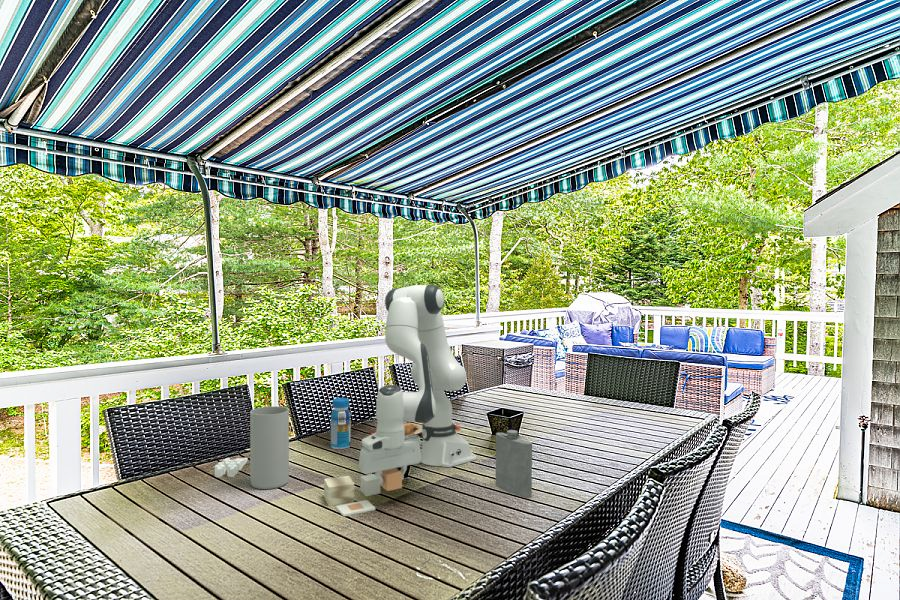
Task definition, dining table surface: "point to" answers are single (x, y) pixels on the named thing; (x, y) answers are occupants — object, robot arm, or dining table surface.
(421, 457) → the robot arm
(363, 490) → the grey cube
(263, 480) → the cylinder vase
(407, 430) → the plate with food
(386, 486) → the terracotta cube
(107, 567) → the dining table surface
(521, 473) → the hip flask
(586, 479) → the dining table surface
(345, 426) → the beverage bottle
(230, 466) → the modular blocks
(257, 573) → the dining table surface
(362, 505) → the card
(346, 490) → the birch block
